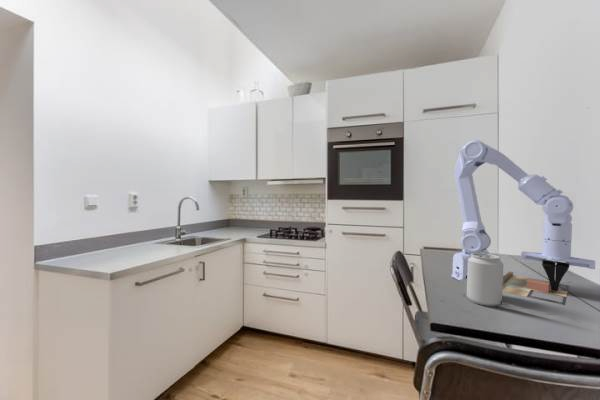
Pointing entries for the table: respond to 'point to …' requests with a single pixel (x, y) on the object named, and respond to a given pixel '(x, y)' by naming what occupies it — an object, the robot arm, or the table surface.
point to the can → (485, 279)
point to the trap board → (520, 288)
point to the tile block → (538, 285)
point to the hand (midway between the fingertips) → (554, 289)
